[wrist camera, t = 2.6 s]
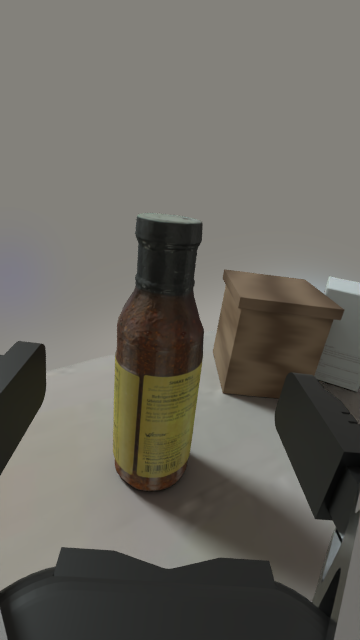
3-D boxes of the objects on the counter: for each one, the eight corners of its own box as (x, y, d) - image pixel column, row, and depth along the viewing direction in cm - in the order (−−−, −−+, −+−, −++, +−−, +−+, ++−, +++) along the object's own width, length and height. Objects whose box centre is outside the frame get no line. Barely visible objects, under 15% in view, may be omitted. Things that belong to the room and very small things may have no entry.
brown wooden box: (282, 357, 48) (304, 279, 44) (311, 404, 38) (344, 309, 34) (209, 349, 48) (224, 269, 43) (219, 395, 38) (240, 297, 33)
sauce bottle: (196, 452, 29) (242, 223, 21) (168, 510, 24) (217, 231, 16) (131, 426, 31) (152, 208, 23) (92, 474, 26) (102, 210, 18)
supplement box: (355, 368, 48) (387, 287, 43) (357, 393, 42) (395, 301, 37) (303, 353, 51) (328, 274, 46) (298, 374, 44) (327, 286, 40)
